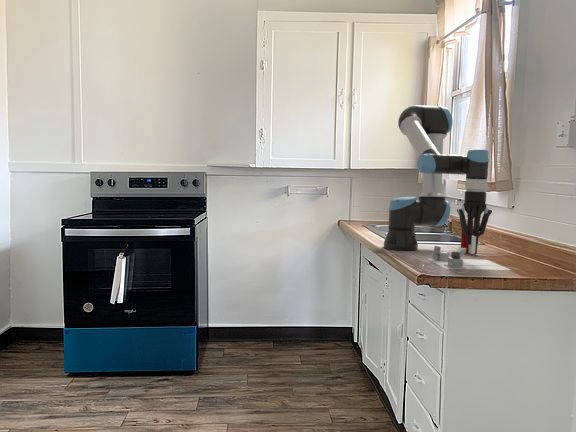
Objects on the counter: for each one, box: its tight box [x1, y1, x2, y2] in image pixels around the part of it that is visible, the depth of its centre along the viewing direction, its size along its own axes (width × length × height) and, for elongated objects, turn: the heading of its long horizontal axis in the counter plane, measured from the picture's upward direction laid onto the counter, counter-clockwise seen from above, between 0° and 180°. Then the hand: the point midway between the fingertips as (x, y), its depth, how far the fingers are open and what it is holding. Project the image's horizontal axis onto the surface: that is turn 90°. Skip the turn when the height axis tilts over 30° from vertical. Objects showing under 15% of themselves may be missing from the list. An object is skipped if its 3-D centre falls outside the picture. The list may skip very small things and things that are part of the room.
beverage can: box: [460, 226, 479, 255], centre depth 216 cm, size 7×7×12 cm
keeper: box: [432, 245, 450, 261], centre depth 195 cm, size 4×5×5 cm
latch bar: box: [450, 247, 467, 258], centre depth 187 cm, size 16×3×2 cm, turn 151°
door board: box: [428, 258, 511, 271], centre depth 188 cm, size 20×24×1 cm
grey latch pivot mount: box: [444, 256, 467, 270], centre depth 182 cm, size 6×6×3 cm
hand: (471, 253), depth 190 cm, fingers closed
